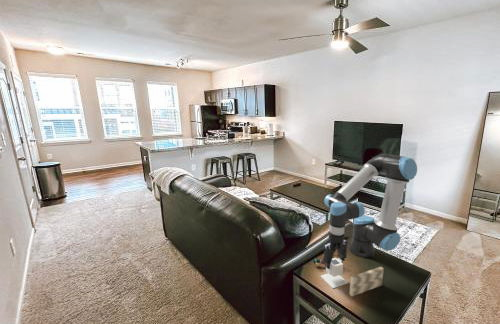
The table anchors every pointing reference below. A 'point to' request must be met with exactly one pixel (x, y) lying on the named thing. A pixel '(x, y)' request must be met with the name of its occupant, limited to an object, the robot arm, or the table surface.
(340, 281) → the felt mat
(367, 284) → the birch screen
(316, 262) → the decorative duck model
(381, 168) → the robot arm
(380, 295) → the table surface
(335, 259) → the cream cube
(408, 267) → the table surface
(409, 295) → the table surface
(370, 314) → the table surface
